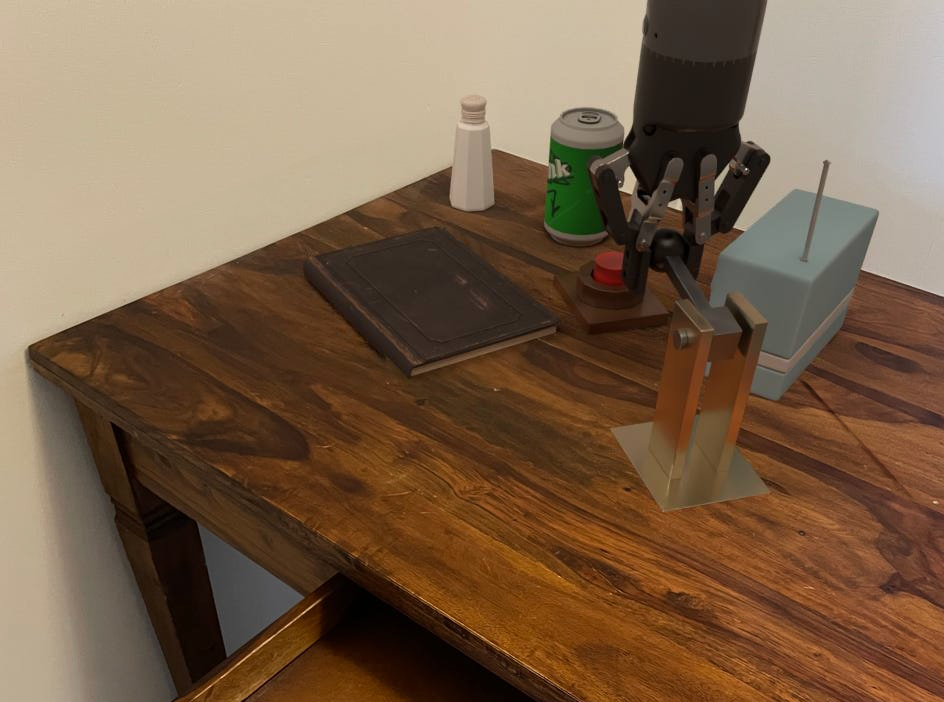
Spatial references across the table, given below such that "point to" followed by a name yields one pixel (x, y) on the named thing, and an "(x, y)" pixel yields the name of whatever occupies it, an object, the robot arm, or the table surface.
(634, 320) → the brown button base
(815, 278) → the radio
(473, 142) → the pepper shaker
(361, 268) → the hardcover book
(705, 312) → the switch lever
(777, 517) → the table surface
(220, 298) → the table surface
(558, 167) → the soda can
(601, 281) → the stop button
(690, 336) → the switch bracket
